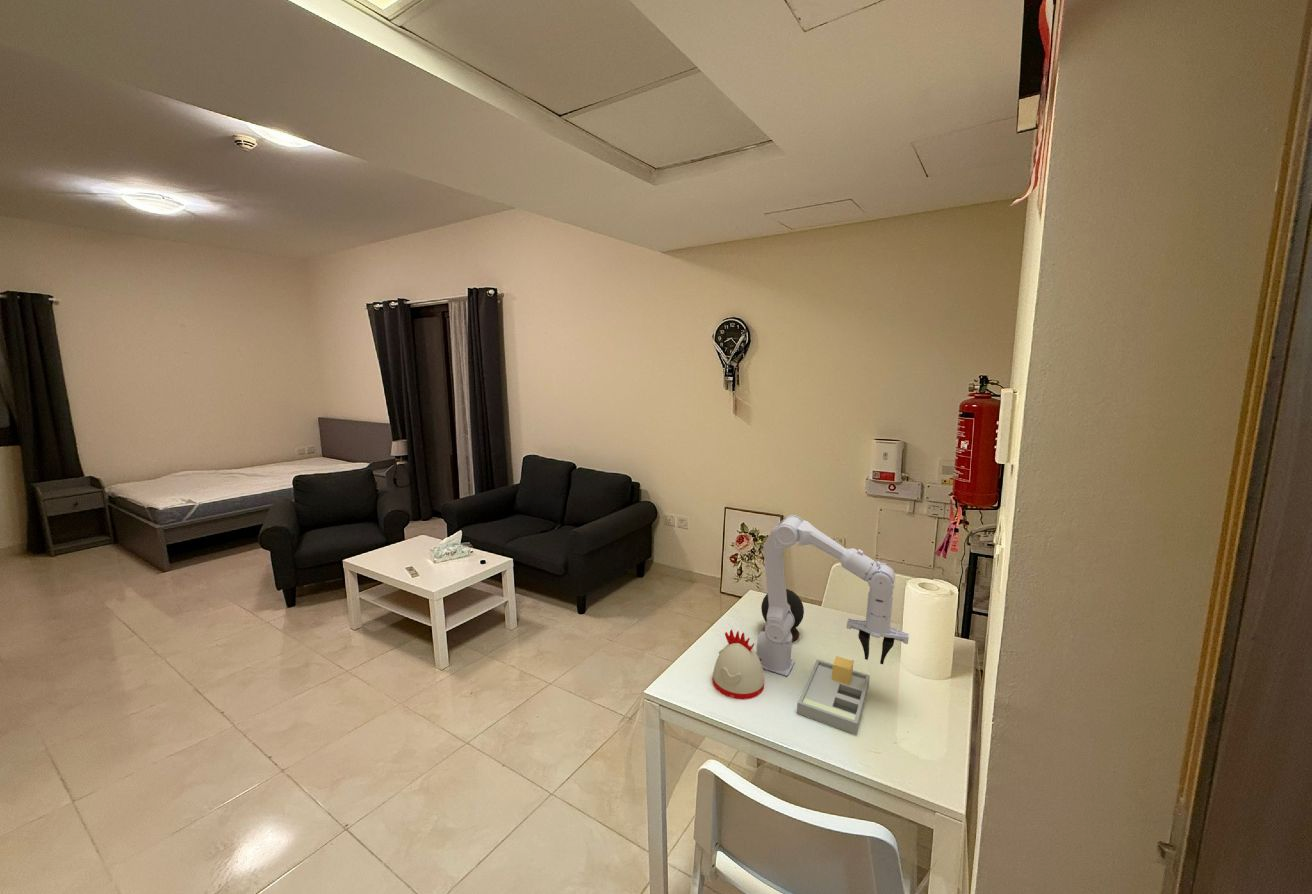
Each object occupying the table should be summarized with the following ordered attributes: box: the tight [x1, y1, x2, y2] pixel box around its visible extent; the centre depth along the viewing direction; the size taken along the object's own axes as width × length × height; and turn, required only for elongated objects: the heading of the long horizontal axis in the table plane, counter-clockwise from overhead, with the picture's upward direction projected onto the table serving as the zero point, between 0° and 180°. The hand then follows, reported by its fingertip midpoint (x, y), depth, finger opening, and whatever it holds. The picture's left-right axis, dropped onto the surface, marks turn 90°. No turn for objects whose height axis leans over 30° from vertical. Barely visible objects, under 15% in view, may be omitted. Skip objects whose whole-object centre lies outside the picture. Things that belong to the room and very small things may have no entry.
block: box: [832, 655, 854, 685], centre depth 134 cm, size 4×4×4 cm
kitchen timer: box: [712, 628, 765, 700], centre depth 134 cm, size 14×14×15 cm
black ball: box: [761, 588, 805, 644], centre depth 158 cm, size 13×13×15 cm
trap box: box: [796, 658, 871, 736], centre depth 129 cm, size 14×21×3 cm, turn 150°
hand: (874, 659), depth 129 cm, fingers open, 3 cm apart
